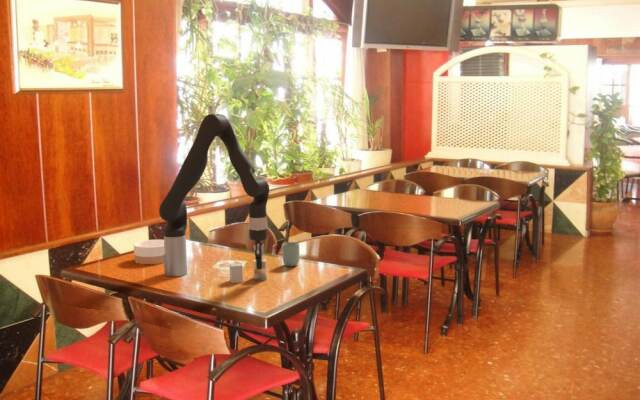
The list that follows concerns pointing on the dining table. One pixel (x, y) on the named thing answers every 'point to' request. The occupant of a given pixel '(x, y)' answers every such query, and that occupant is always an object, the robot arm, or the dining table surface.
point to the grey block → (236, 273)
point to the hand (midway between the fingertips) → (259, 268)
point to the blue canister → (260, 271)
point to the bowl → (149, 251)
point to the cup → (290, 253)
